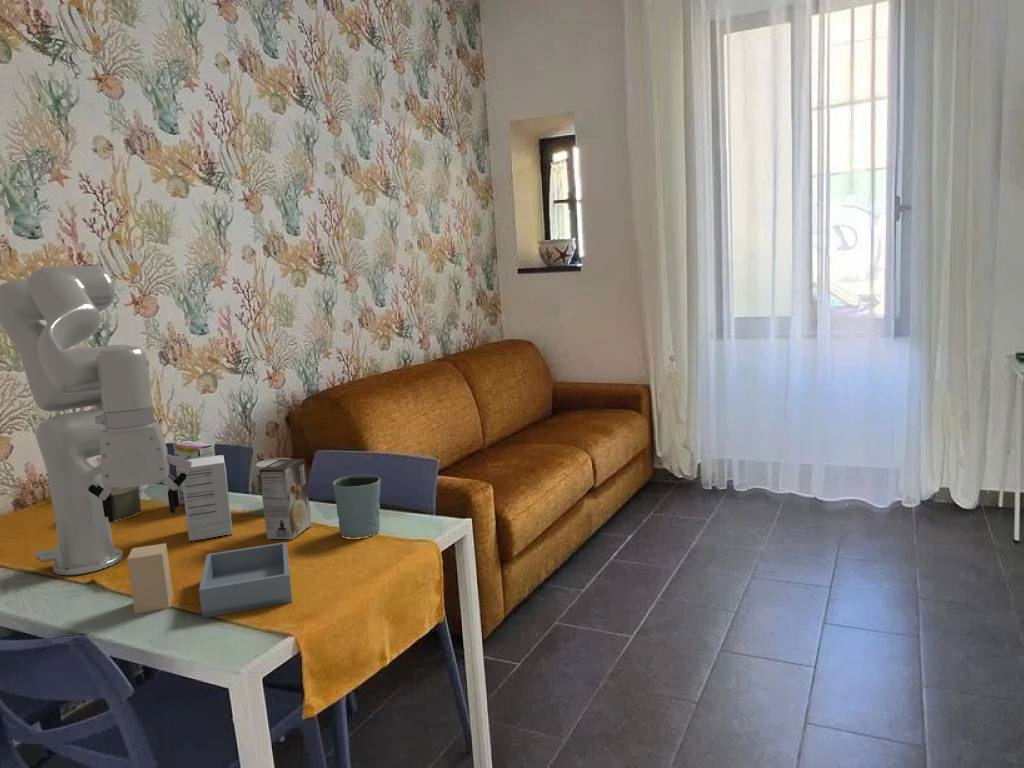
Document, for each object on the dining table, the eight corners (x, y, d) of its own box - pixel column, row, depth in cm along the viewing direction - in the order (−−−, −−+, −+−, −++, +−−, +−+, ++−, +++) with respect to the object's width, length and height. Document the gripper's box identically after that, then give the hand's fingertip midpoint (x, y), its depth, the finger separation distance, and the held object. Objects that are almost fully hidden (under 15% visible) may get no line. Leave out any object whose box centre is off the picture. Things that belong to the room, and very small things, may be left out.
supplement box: (233, 535, 165) (225, 462, 162) (188, 543, 161) (179, 468, 159) (231, 523, 173) (224, 453, 171) (189, 530, 170) (180, 459, 167)
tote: (202, 618, 124) (198, 590, 123) (209, 579, 140) (206, 554, 140) (292, 601, 128) (289, 574, 128) (289, 566, 145) (286, 541, 144)
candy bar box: (179, 505, 190) (171, 444, 187) (196, 500, 194) (189, 439, 191) (205, 511, 184) (198, 447, 181) (223, 505, 188) (215, 443, 185)
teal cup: (328, 534, 162) (323, 482, 160) (366, 521, 169) (362, 471, 167) (355, 544, 155) (350, 489, 153) (393, 530, 162) (389, 478, 160)
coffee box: (286, 526, 169) (280, 458, 167) (312, 526, 168) (305, 458, 165) (265, 540, 160) (258, 469, 158) (292, 541, 159) (285, 469, 157)
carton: (134, 613, 127) (127, 559, 125) (139, 601, 132) (132, 548, 131) (169, 607, 129) (162, 553, 127) (172, 595, 134) (166, 543, 132)
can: (150, 513, 185) (147, 486, 184) (100, 526, 176) (96, 499, 175) (130, 505, 193) (127, 480, 192) (81, 518, 184) (77, 491, 183)
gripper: (67, 429, 119) (82, 530, 121) (182, 416, 124) (195, 513, 127) (78, 422, 126) (93, 518, 128) (187, 410, 131) (199, 502, 134)
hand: (143, 515), depth 128 cm, fingers open, 9 cm apart
